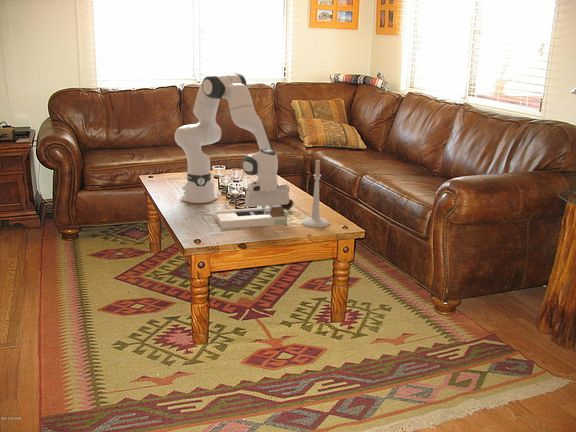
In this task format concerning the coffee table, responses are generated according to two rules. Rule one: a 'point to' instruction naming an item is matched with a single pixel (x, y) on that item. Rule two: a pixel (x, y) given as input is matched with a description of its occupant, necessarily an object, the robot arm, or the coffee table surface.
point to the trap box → (247, 218)
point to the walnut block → (277, 211)
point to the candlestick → (315, 204)
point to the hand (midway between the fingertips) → (267, 214)
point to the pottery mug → (288, 205)
